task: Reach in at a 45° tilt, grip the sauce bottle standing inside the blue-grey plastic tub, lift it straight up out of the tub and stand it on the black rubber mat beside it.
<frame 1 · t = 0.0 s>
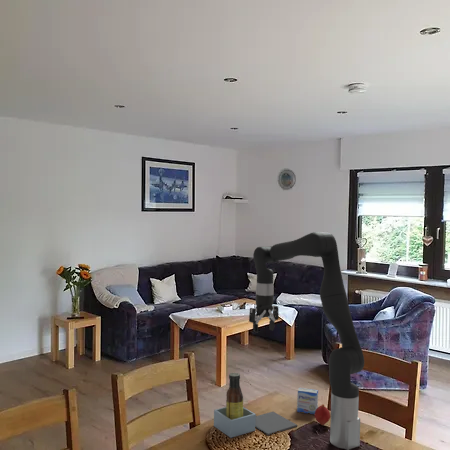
hand: (263, 331, 200), 29 cm above the table, tool pointing down, fingers open, 8 cm apart
sauce bottle: (234, 428, 173), resting in tub
mat: (270, 423, 177), on the table
medicine box: (307, 411, 189), on the table
tub: (234, 428, 173), on the table
onion: (322, 425, 177), on the table
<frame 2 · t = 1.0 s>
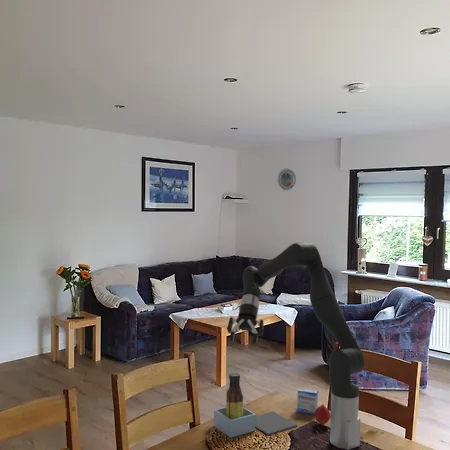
hand: (242, 342, 183), 29 cm above the table, tool tilted 45°, fingers open, 8 cm apart
nothing on the table moved.
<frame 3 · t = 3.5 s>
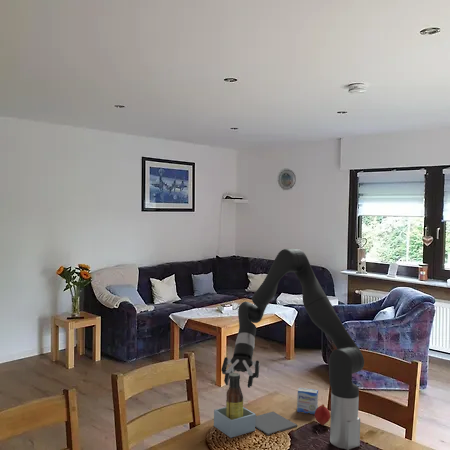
hand: (237, 385, 176), 14 cm above the table, tool tilted 45°, fingers open, 8 cm apart
nothing on the table moved.
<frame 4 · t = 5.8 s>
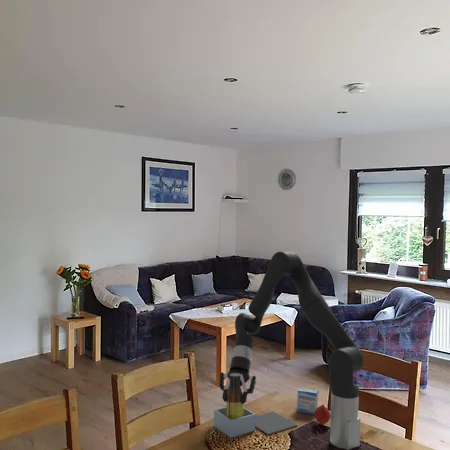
hand: (233, 401, 171), 10 cm above the table, tool tilted 45°, fingers closed on sauce bottle, 6 cm apart
sauce bottle: (234, 428, 173), resting in tub, touching gripper
everything else where it was.
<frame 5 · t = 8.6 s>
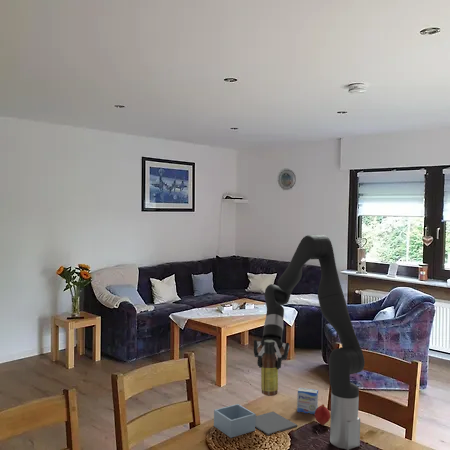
hand: (268, 367, 174), 22 cm above the table, tool tilted 45°, fingers closed on sauce bottle, 6 cm apart
sauce bottle: (269, 394, 176), point 11 cm above the table, touching gripper
everything else where it was.
when the fingers open (12 cm above the table, at t = 11.6 s): sauce bottle drops 1 cm, resting on mat.
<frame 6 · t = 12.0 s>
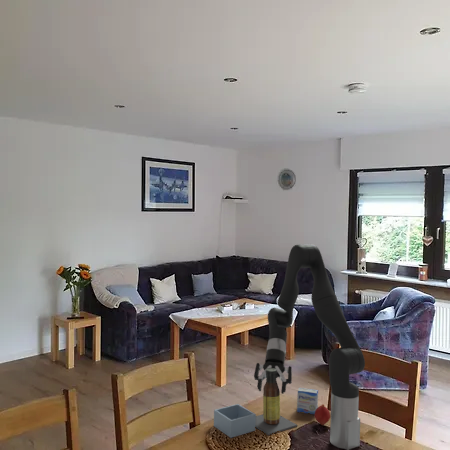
hand: (271, 391, 176), 13 cm above the table, tool tilted 45°, fingers open, 8 cm apart
sauce bottle: (271, 422, 177), resting on mat
everything else where it was.
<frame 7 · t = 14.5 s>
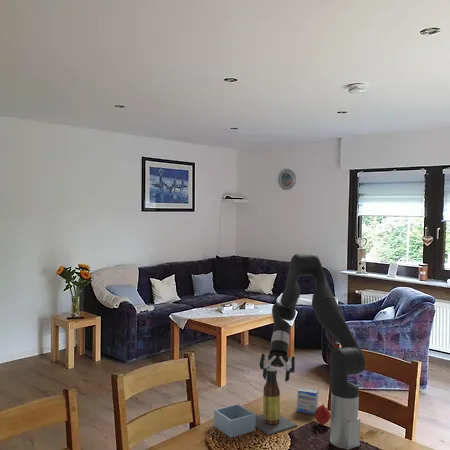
hand: (275, 379, 188), 13 cm above the table, tool tilted 45°, fingers open, 8 cm apart
nothing on the table moved.
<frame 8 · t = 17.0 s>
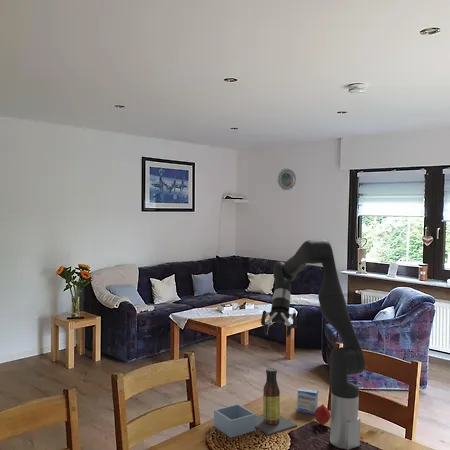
hand: (276, 335, 188), 31 cm above the table, tool tilted 45°, fingers open, 8 cm apart
nothing on the table moved.
at the end: sauce bottle inside the target area on the mat (0.2 cm from its centre), point 0.4 cm above the mat's base; sauce bottle tilted 0°; the gripper is holding nothing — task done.
